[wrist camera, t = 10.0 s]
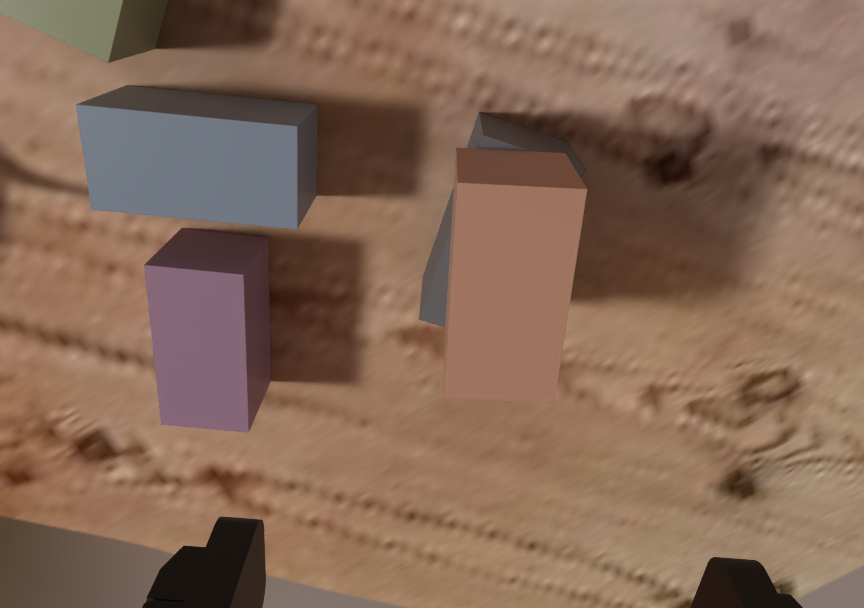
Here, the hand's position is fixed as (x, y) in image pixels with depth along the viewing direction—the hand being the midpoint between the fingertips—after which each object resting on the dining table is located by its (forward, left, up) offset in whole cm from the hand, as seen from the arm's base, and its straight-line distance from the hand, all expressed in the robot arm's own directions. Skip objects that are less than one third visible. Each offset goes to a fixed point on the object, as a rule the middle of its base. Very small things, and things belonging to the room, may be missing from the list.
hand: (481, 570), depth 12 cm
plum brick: (+6, -11, -20) cm, 24 cm away
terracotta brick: (0, +2, -16) cm, 16 cm away
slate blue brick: (-2, -11, -20) cm, 23 cm away
